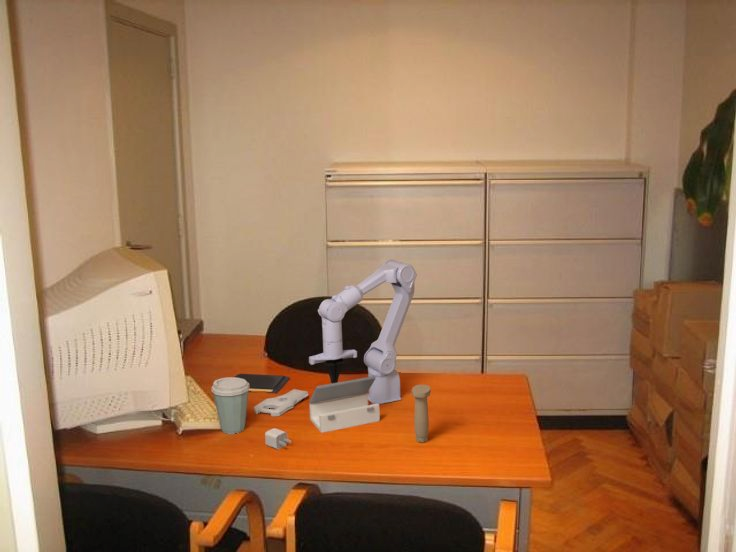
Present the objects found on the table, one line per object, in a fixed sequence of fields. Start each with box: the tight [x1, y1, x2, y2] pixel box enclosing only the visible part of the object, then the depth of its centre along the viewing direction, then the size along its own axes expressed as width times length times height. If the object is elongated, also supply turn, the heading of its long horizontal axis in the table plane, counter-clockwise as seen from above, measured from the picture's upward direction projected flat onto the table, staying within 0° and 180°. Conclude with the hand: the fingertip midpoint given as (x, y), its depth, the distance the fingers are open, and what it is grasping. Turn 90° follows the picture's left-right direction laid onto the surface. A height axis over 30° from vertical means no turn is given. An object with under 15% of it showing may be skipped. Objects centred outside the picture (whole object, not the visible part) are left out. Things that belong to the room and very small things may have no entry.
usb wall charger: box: [264, 427, 292, 450], centre depth 194 cm, size 4×7×4 cm, turn 51°
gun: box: [253, 388, 309, 417], centre depth 221 cm, size 18×3×10 cm
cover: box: [308, 376, 376, 404], centre depth 209 cm, size 18×10×1 cm
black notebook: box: [234, 373, 291, 394], centre depth 241 cm, size 20×2×15 cm
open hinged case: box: [308, 393, 381, 434], centre depth 209 cm, size 18×11×5 cm, turn 113°
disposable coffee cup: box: [211, 376, 250, 435], centre depth 204 cm, size 11×11×15 cm
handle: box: [411, 384, 432, 444], centre depth 194 cm, size 5×6×15 cm
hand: (334, 383), depth 215 cm, fingers closed
